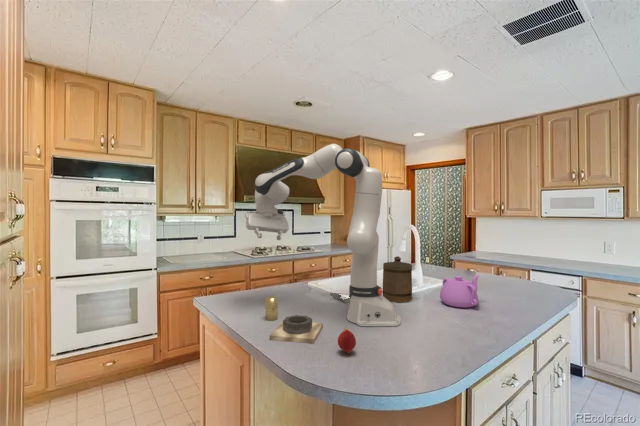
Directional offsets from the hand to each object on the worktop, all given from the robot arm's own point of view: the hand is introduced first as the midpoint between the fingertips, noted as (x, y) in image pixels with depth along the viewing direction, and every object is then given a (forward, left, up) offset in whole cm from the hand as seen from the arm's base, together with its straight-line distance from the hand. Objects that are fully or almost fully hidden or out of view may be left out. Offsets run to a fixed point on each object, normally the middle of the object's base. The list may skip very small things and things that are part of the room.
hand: (269, 238), depth 145 cm
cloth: (-30, -29, -34) cm, 54 cm away
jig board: (-19, +22, -33) cm, 44 cm away
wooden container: (-57, -34, -33) cm, 75 cm away
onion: (-39, +35, -33) cm, 62 cm away
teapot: (-88, -31, -33) cm, 99 cm away
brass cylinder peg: (-4, +9, -33) cm, 35 cm away
